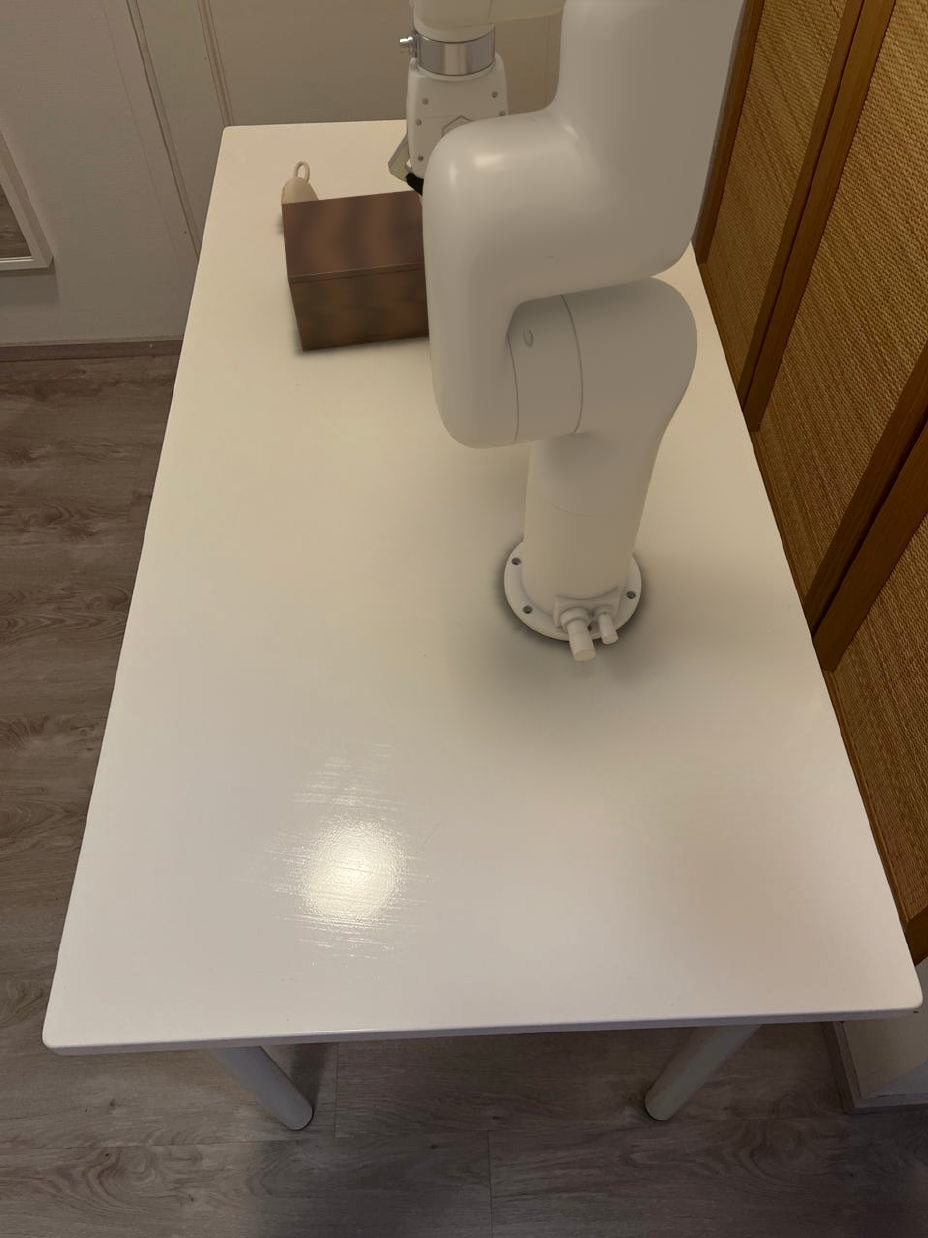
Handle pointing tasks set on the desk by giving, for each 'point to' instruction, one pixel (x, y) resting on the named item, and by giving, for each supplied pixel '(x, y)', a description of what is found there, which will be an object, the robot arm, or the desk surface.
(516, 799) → the desk surface
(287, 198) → the decorative ornament
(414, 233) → the cabinet
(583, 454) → the robot arm
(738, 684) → the desk surface
